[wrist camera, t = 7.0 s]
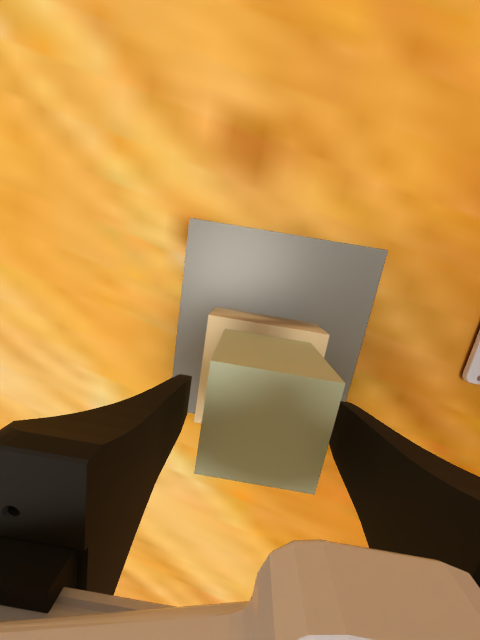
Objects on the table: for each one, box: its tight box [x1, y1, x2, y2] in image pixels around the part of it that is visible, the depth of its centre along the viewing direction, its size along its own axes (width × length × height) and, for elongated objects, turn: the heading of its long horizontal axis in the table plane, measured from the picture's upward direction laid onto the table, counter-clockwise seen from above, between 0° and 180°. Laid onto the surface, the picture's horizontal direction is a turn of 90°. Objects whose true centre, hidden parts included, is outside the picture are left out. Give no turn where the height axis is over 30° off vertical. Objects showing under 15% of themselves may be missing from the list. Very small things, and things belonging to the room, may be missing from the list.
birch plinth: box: [194, 307, 330, 423], centre depth 16 cm, size 7×7×3 cm
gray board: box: [172, 218, 388, 414], centre depth 17 cm, size 13×14×1 cm
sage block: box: [194, 328, 345, 495], centre depth 12 cm, size 5×5×5 cm
